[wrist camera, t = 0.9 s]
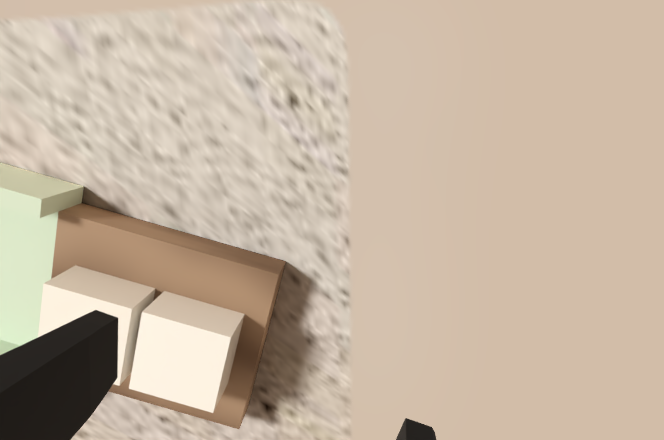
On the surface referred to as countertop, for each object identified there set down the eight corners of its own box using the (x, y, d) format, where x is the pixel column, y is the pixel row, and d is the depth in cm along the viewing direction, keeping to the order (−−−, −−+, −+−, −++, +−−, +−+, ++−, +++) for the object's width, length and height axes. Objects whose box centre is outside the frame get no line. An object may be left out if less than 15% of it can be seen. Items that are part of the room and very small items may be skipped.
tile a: (227, 383, 26) (213, 413, 23) (151, 361, 26) (128, 388, 23) (244, 314, 25) (231, 337, 22) (164, 291, 25) (141, 311, 22)
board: (248, 406, 28) (239, 429, 26) (63, 353, 29) (41, 371, 27) (285, 261, 26) (278, 274, 24) (81, 203, 26) (58, 211, 24)
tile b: (142, 359, 26) (119, 385, 23) (66, 337, 26) (35, 361, 23) (155, 288, 25) (131, 309, 22) (75, 265, 25) (43, 283, 22)
